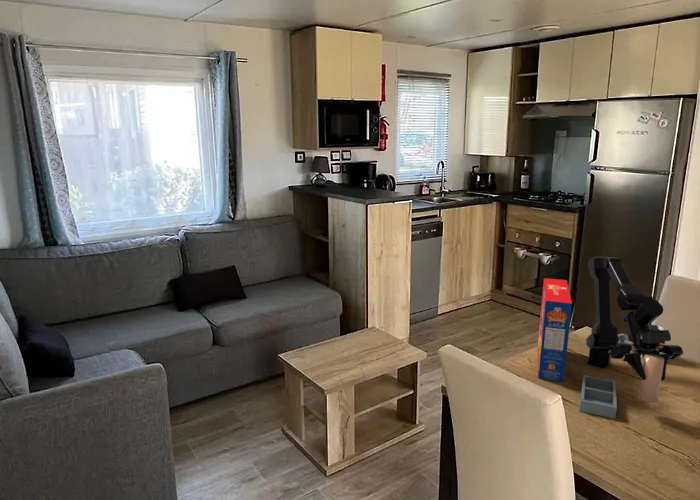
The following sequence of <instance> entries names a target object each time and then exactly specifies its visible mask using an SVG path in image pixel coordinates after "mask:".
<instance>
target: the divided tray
mask: <svg viewBox="0 0 700 500" xmlns="http://www.w3.org/2000/svg"><path fill="white" fill-rule="evenodd" d="M580 390H581V391H580V392H581V393H580V404H579V412H582V413H587V414H590V415H591V414H592V415H595V416H596V415H598V416H601V417H605V418H610V419H615V420H616V417H617V410H618V409H617V407H618V405H617V403H618V401H617V385H616V380H612V379H607V378H601V377H598V376H597V377H596V376H592V375H591V376H590V375H587V374H583V375H582V383H581V389H580Z"/></svg>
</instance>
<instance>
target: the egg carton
mask: <svg viewBox="0 0 700 500" xmlns="http://www.w3.org/2000/svg"><path fill="white" fill-rule="evenodd" d="M617 334H618V338H619V341H618V344H630V342H629V336H628V334H626V333H617Z"/></svg>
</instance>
